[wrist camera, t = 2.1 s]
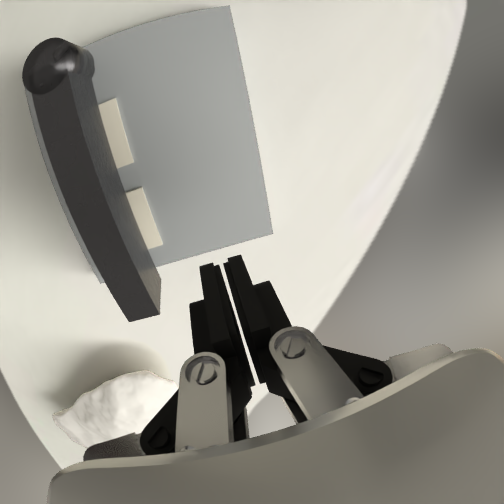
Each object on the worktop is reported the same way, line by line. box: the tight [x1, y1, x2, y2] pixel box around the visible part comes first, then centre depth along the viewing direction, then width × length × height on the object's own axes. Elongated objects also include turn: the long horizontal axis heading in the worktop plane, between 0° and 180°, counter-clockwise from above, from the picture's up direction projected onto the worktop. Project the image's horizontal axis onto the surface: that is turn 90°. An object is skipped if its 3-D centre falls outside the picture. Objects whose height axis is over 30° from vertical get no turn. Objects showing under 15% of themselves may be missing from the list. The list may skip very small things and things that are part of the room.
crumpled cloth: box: [52, 370, 179, 449], centre depth 32 cm, size 24×35×9 cm
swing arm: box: [22, 38, 161, 322], centre depth 14 cm, size 19×3×4 cm, turn 10°
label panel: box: [25, 5, 273, 284], centre depth 18 cm, size 19×16×3 cm
